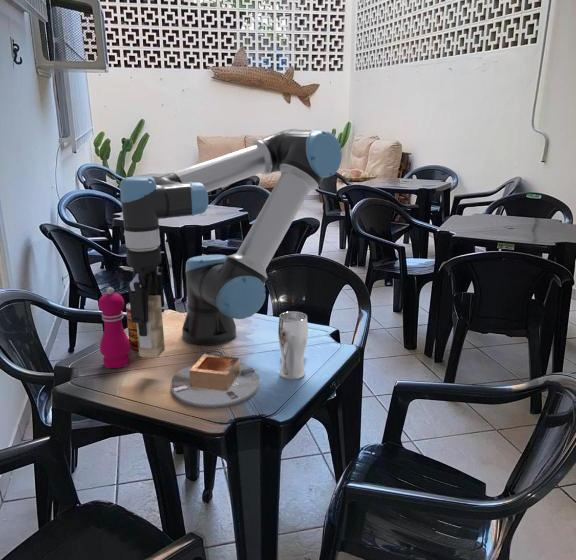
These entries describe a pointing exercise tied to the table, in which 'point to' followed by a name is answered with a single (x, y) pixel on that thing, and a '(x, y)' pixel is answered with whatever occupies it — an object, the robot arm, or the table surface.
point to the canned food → (132, 331)
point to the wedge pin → (154, 328)
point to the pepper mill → (113, 331)
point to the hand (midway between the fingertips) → (151, 342)
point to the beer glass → (292, 343)
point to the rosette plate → (215, 382)
